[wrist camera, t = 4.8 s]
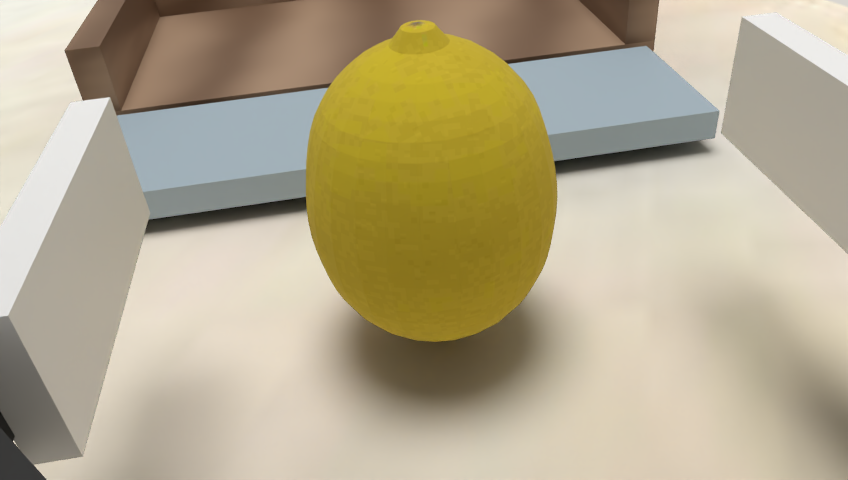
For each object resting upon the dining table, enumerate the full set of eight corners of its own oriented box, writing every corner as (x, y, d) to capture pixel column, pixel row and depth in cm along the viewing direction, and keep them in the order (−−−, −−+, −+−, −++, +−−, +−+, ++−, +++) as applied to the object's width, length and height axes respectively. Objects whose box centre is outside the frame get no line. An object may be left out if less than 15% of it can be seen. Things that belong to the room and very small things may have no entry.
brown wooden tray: (101, 150, 28) (64, 50, 26) (147, 41, 38) (123, -39, 36) (650, 76, 30) (661, -24, 28) (561, -11, 40) (564, -90, 38)
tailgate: (108, 141, 28) (71, 230, 23) (100, 118, 27) (60, 203, 22) (643, 69, 30) (714, 138, 25) (646, 45, 29) (719, 110, 24)
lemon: (507, 247, 22) (504, -35, 17) (589, 380, 17) (614, 48, 13) (319, 288, 21) (262, 2, 16) (354, 440, 16) (289, 105, 12)
